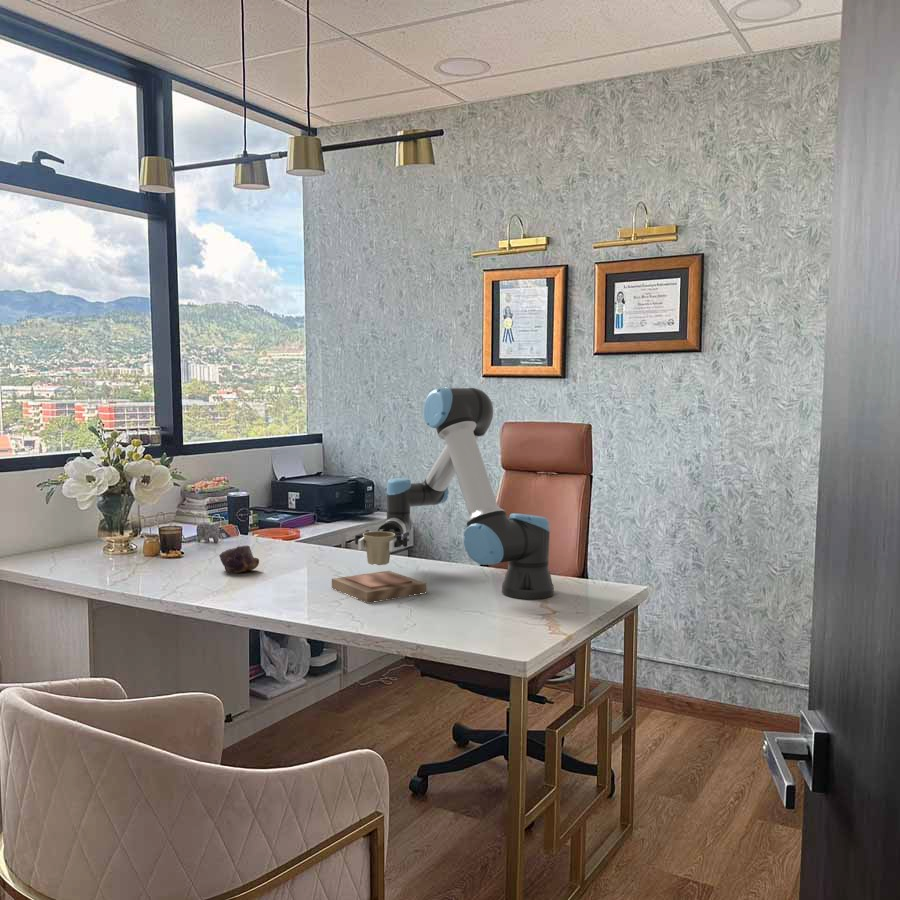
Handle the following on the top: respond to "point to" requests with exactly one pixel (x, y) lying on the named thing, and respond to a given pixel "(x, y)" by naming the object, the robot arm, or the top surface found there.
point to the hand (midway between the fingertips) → (374, 545)
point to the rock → (239, 559)
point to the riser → (378, 586)
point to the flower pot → (378, 546)
